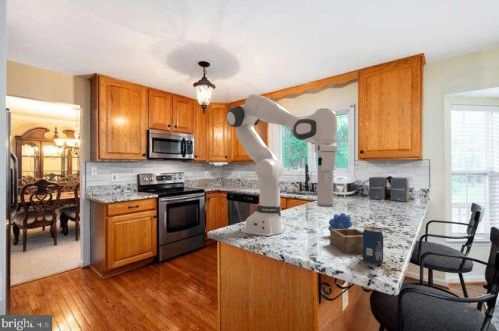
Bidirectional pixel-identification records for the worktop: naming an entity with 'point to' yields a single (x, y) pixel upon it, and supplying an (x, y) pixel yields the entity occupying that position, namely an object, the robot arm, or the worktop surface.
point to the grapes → (340, 222)
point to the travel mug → (324, 188)
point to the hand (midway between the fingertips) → (324, 181)
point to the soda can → (372, 245)
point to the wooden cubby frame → (347, 240)
